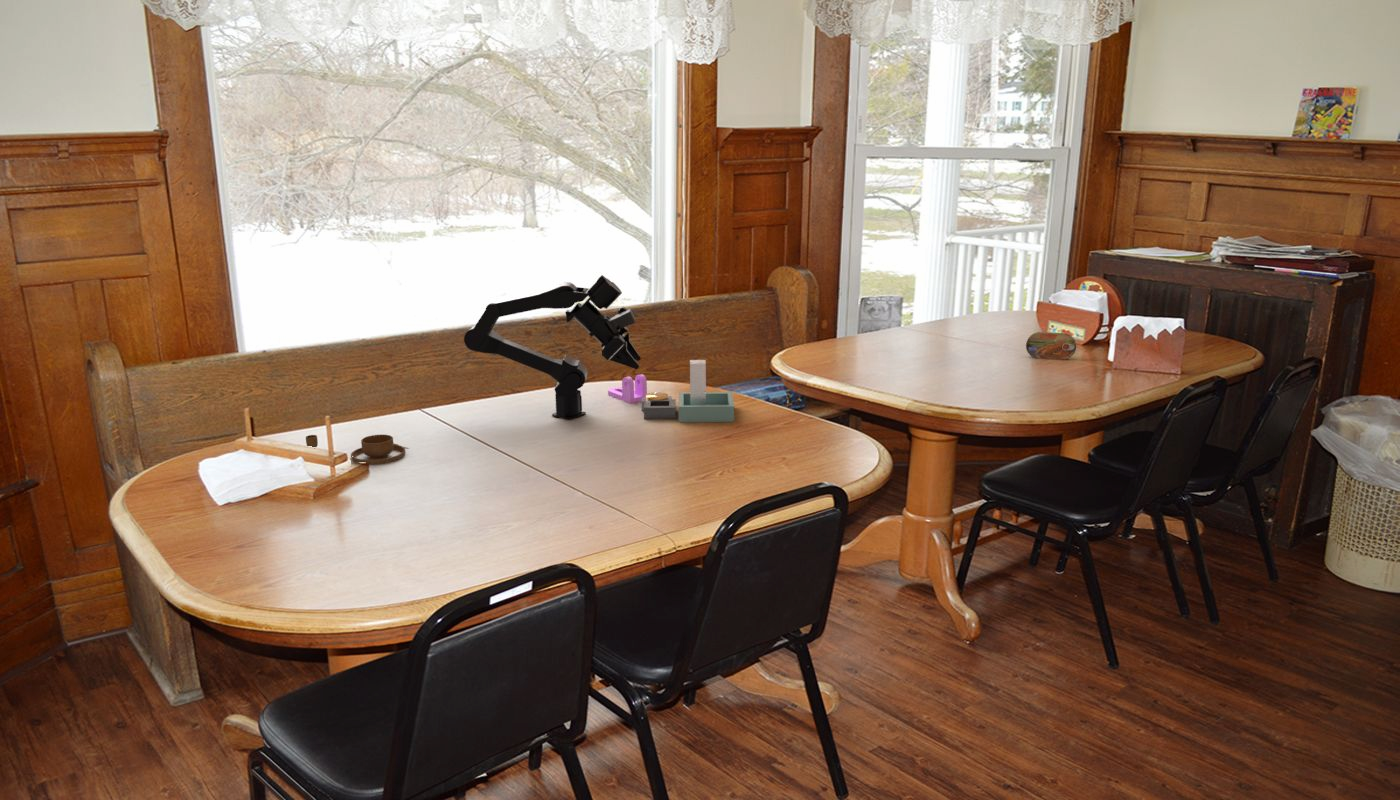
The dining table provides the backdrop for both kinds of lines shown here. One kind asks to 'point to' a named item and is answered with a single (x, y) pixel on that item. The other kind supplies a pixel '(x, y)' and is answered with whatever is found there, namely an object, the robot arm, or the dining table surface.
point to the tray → (707, 408)
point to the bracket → (630, 389)
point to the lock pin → (697, 382)
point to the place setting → (371, 449)
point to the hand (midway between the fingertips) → (639, 363)
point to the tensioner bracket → (658, 406)
